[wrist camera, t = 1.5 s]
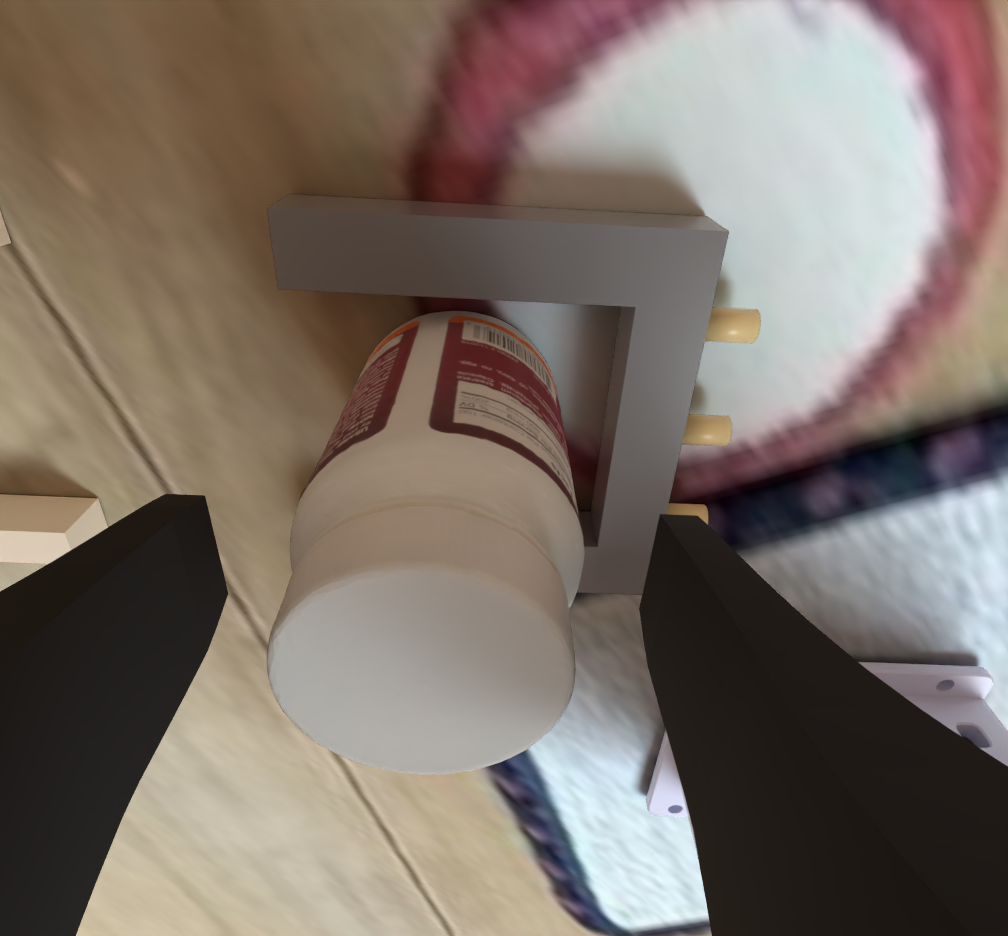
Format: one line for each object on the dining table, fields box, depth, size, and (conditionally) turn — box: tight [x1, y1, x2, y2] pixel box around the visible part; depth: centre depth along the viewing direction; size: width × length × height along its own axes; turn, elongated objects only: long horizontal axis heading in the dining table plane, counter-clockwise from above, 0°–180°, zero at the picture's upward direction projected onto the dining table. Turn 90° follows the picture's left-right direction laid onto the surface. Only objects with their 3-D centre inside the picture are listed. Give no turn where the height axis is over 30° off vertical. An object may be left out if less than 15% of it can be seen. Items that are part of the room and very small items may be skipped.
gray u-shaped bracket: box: [267, 194, 761, 595], centre depth 15 cm, size 10×9×2 cm
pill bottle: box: [267, 311, 585, 775], centre depth 12 cm, size 5×5×8 cm
